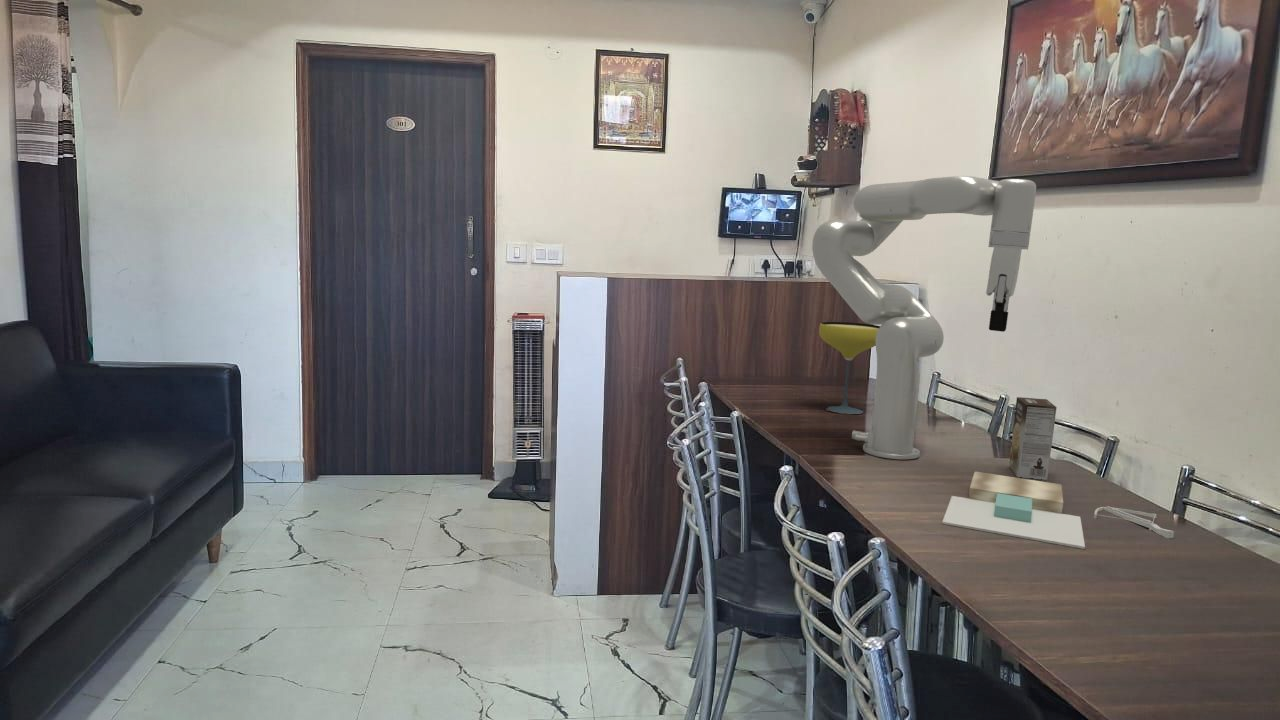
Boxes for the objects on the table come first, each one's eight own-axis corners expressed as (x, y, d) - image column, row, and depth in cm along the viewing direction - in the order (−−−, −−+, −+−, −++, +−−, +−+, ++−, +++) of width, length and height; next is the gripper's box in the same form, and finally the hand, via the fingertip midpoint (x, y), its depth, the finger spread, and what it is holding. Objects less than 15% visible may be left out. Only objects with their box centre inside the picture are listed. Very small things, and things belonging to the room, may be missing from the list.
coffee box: (1007, 466, 190) (1015, 396, 188) (1038, 469, 189) (1046, 398, 186) (1016, 477, 181) (1025, 403, 179) (1049, 480, 180) (1058, 406, 177)
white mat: (942, 523, 147) (942, 521, 147) (951, 497, 163) (951, 495, 163) (1084, 549, 138) (1085, 546, 138) (1079, 518, 154) (1080, 516, 154)
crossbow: (1074, 515, 160) (1075, 504, 160) (1133, 515, 163) (1134, 504, 162) (1138, 539, 145) (1139, 527, 145) (1202, 539, 147) (1203, 527, 147)
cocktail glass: (837, 418, 234) (845, 328, 230) (800, 405, 250) (806, 321, 247) (890, 416, 241) (898, 329, 237) (850, 404, 257) (857, 321, 254)
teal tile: (993, 516, 151) (995, 505, 151) (995, 503, 160) (997, 493, 159) (1030, 522, 149) (1031, 511, 149) (1030, 509, 157) (1032, 498, 157)
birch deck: (968, 500, 162) (969, 487, 162) (973, 483, 175) (974, 471, 174) (1061, 515, 155) (1063, 502, 155) (1059, 496, 168) (1061, 484, 168)
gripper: (992, 240, 181) (981, 326, 184) (986, 239, 168) (974, 331, 171) (1030, 243, 178) (1018, 329, 181) (1027, 242, 165) (1014, 335, 168)
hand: (997, 330), depth 176 cm, fingers closed
